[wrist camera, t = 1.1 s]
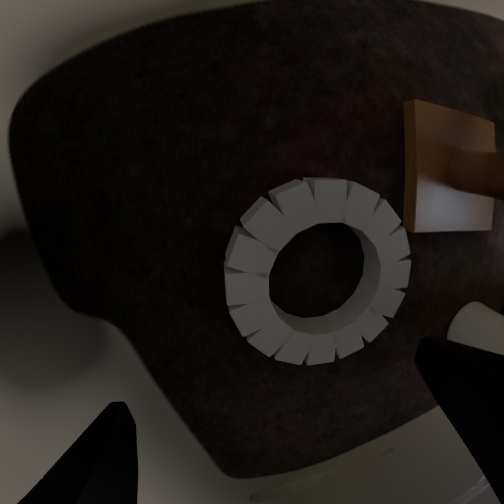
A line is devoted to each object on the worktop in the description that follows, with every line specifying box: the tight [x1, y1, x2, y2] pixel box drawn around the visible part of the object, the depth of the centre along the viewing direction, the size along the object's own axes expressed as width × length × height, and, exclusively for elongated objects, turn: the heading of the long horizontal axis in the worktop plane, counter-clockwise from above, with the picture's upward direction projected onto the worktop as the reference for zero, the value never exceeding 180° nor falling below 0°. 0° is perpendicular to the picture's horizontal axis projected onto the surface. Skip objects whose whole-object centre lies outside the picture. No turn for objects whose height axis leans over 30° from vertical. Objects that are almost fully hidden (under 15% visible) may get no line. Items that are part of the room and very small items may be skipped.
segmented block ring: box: [224, 178, 411, 365], centre depth 19 cm, size 12×12×2 cm
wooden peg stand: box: [402, 99, 504, 233], centre depth 15 cm, size 9×9×8 cm
